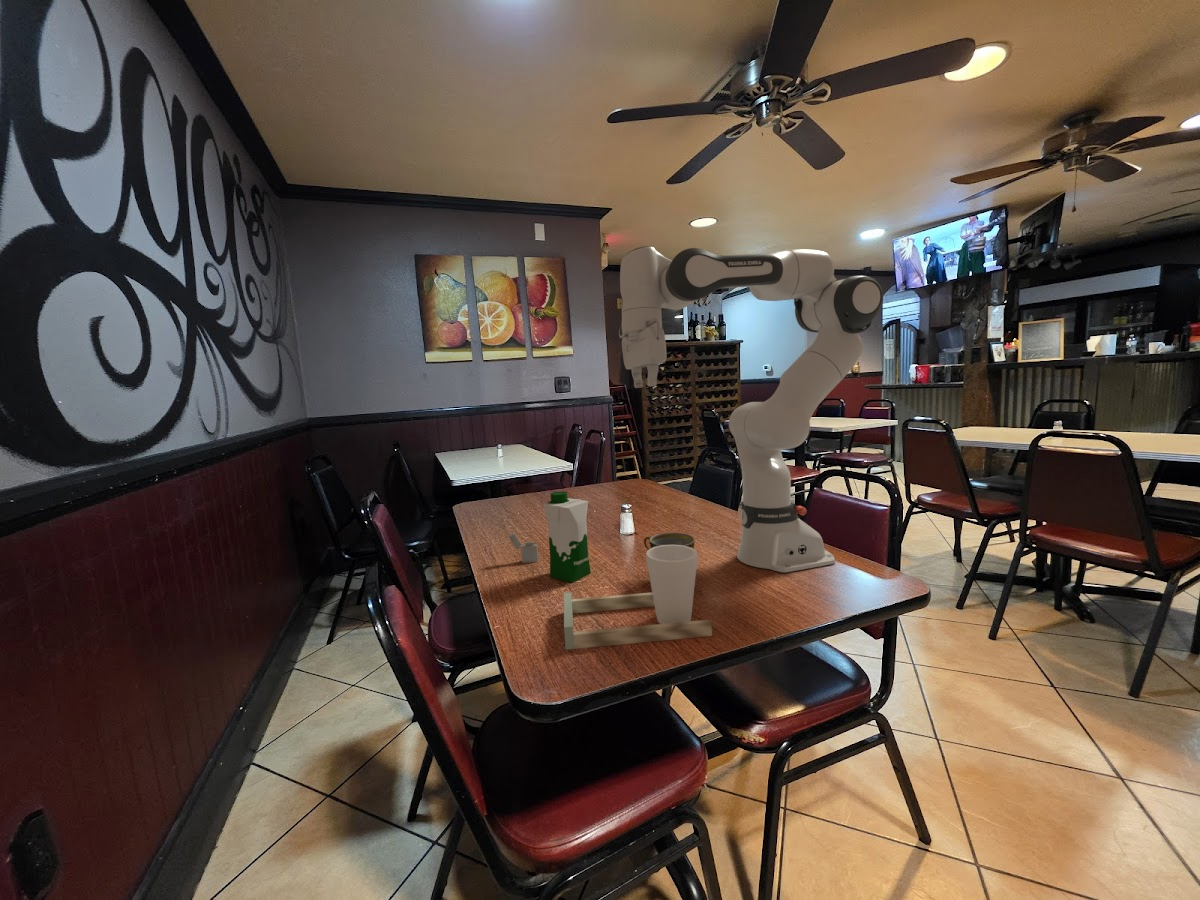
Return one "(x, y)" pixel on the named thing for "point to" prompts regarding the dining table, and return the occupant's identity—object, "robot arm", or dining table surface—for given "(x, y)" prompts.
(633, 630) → the guide channel
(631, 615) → the dining table surface
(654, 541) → the ceramic cup
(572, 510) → the milk carton
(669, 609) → the foam cup
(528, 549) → the lighter
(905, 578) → the dining table surface
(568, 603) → the stop block
